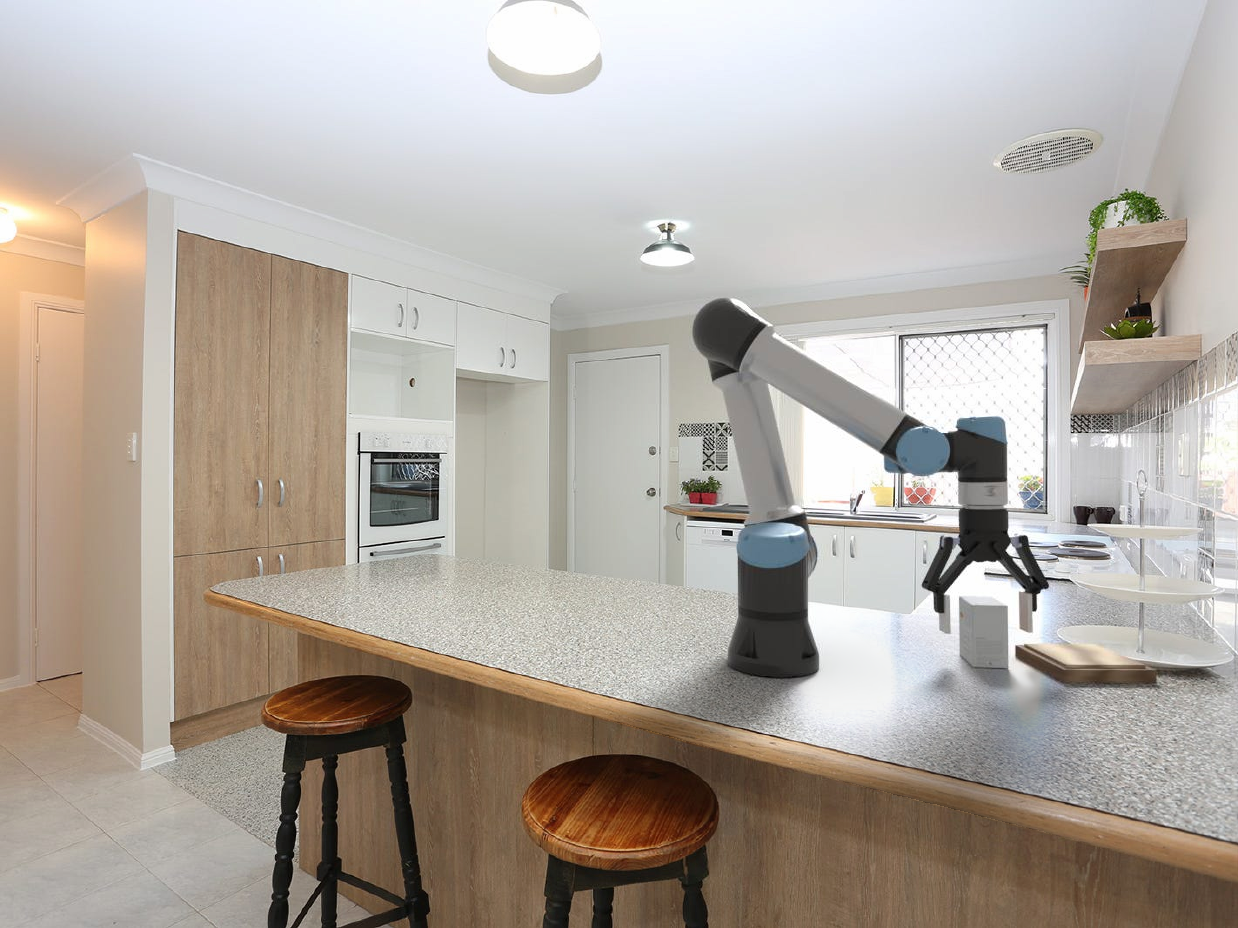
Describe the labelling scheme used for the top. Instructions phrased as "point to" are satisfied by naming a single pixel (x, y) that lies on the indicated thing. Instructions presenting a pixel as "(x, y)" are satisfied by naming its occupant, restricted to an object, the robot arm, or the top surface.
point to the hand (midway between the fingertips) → (985, 631)
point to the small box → (983, 631)
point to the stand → (1085, 663)
